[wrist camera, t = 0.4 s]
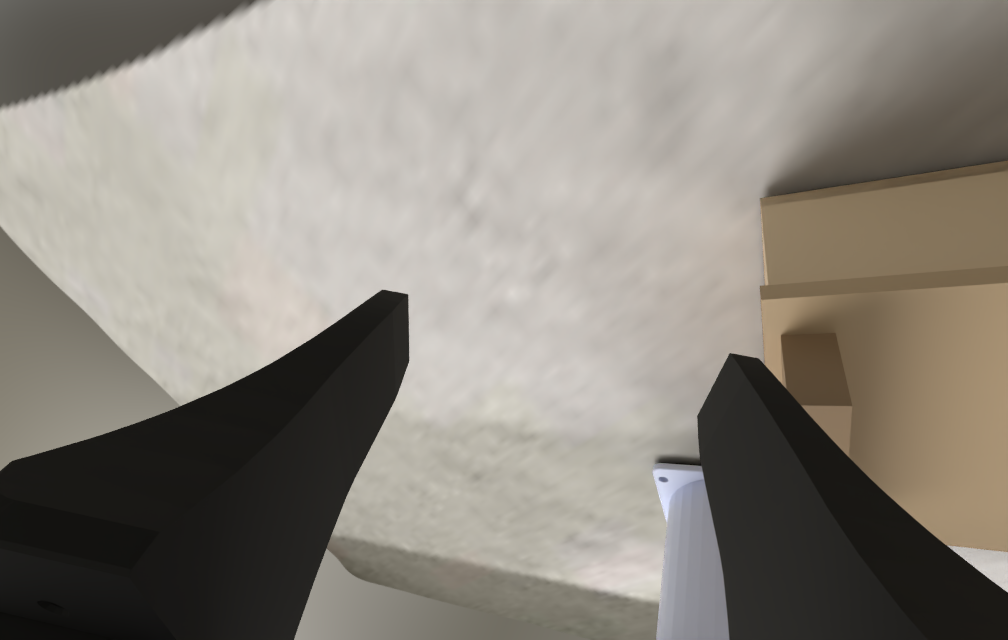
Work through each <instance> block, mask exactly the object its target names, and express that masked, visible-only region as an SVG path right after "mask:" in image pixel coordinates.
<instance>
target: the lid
mask: <svg viewBox="0 0 1008 640" xmlns="http://www.w3.org/2000/svg"><path fill="white" fill-rule="evenodd" d="M760 295H761V311H762V327H763V343H764V359H765V366H766V367H767V368H768V369H769V370H770V371H771V372H772V373H773V374H774V376H775V377H776V378H777V379H778V380H779V381H780V382H781V383H782V385H783V386H784V387H785V388H786V389H787V390H788V391H789V392H790V394H791V395H792V396H793V397H794V398H795V399H796V400H797V402H798V403H799V404H800V405H801V406H802V407H803V408H804V409H805V411H806V412H807V413H808V414H809V415H810V416H811V417H812V418H813V420H814V421H815V422H816V423H817V424H818V425H819V426H820V427H821V428H822V429H823V430H824V432H825V433H826V434H827V435H828V436H829V437H830V438H831V439H832V440H833V441H834V442H835V443H836V444H837V445H838V446H839V447H840V449H841V450H842V451H843V452H844V453H845V454H846V455H847V456H848V457H849V458H850V459H851V460H852V461H853V462H854V463H855V464H856V465H857V466H858V467H859V468H860V469H861V470H862V471H863V472H864V473H865V474H866V475H867V476H868V477H869V478H870V479H871V480H872V481H873V482H874V483H876V484H877V485H878V486H879V487H880V488H881V489H882V490H883V491H884V492H885V493H886V494H887V495H888V496H889V497H891V498H892V499H893V500H894V501H895V502H896V503H897V504H898V505H900V506H901V507H902V508H903V509H904V510H905V511H906V512H908V513H909V514H910V515H911V516H912V517H913V518H914V519H915V520H917V521H918V522H919V523H920V524H921V525H922V526H923V527H925V528H926V529H927V530H928V531H929V532H931V533H932V534H933V535H934V536H935V537H937V538H938V539H939V540H940V541H942V542H943V543H944V544H945V545H950V546H959V547H968V548H977V549H986V550H994V551H1003V552H1008V266H1000V267H987V268H975V269H962V270H950V271H938V272H925V273H913V274H901V275H888V276H876V277H864V278H851V279H839V280H827V281H814V282H802V283H789V284H777V285H765V286H760Z"/></svg>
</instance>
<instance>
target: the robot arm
mask: <svg viewBox="0 0 1008 640" xmlns="http://www.w3.org/2000/svg"><path fill="white" fill-rule="evenodd" d="M408 363H409V316H408V294H403V293H398V292H392V291H387V290H381V291H380V292H378V293H377V294H375V295H374V296H373V297H371V298H370V299H368V300H367V301H365V302H364V303H363V304H361V305H360V306H358V307H357V308H356V309H354V310H353V311H351V312H350V313H349V314H347V315H346V316H344V317H343V318H342V319H340V320H339V321H337V322H336V323H334V324H333V325H331V326H330V327H328V328H327V329H325V330H324V331H323V332H321V333H320V334H318V335H317V336H315V337H314V338H312V339H311V340H309V341H307V342H306V343H304V344H302V345H301V346H299V347H298V348H296V349H294V350H293V351H291V352H289V353H288V354H286V355H285V356H283V357H281V358H280V359H278V360H276V361H274V362H273V363H271V364H269V365H267V366H265V367H264V368H262V369H260V370H258V371H256V372H254V373H252V374H250V375H248V376H246V377H244V378H242V379H240V380H238V381H236V382H234V383H232V384H230V385H228V386H226V387H224V388H222V389H220V390H217V391H215V392H213V393H210V394H208V395H206V396H203V397H201V398H199V399H196V400H194V401H192V402H189V403H187V404H185V405H182V406H180V407H178V408H175V409H173V410H170V411H168V412H165V413H162V414H160V415H157V416H155V417H152V418H149V419H146V420H144V421H141V422H138V423H135V424H133V425H130V426H127V427H124V428H121V429H118V430H115V431H112V432H109V433H106V434H103V435H100V436H97V437H94V438H91V439H87V440H84V441H80V442H77V443H73V444H70V445H67V446H63V447H60V448H56V449H53V450H49V451H46V452H43V453H39V454H36V455H32V456H29V457H25V458H21V459H17V460H14V461H12V462H10V463H9V464H8V465H7V466H6V467H4V468H3V469H2V470H1V471H0V640H294V638H295V635H296V631H297V629H298V626H299V623H300V620H301V617H302V614H303V611H304V609H305V605H306V603H307V600H308V597H309V594H310V591H311V589H312V586H313V583H314V580H315V577H316V575H317V572H318V569H319V567H320V564H321V561H322V559H323V556H324V553H325V551H326V548H327V545H328V542H329V540H330V537H331V535H332V532H333V529H334V527H335V524H336V522H337V519H338V517H339V514H340V512H341V509H342V506H343V504H344V501H345V499H346V496H347V494H348V492H349V490H350V488H351V485H352V483H353V481H354V479H355V477H356V475H357V473H358V471H359V469H360V467H361V465H362V463H363V461H364V459H365V458H366V456H367V454H368V452H369V450H370V448H371V446H372V444H373V442H374V440H375V438H376V436H377V434H378V432H379V430H380V428H381V427H382V425H383V423H384V421H385V419H386V417H387V415H388V413H389V411H390V409H391V407H392V405H393V403H394V401H395V399H396V396H397V394H398V391H399V388H400V386H401V383H402V380H403V377H404V374H405V371H406V369H407V366H408ZM697 417H698V439H699V451H700V460H701V466H696V465H681V464H667V463H658V464H655V465H654V466H653V476H654V479H655V483H656V486H657V490H658V493H659V497H660V501H661V504H662V508H663V511H664V515H665V518H666V522H667V530H666V541H665V551H664V562H663V573H662V583H661V594H660V604H659V615H658V625H657V636H656V640H1008V593H1007V592H1006V591H1005V590H1003V589H1002V588H1001V587H999V586H998V585H997V584H995V583H994V582H992V581H991V580H990V579H988V578H987V577H986V576H985V575H983V574H982V573H981V572H979V571H978V570H977V569H976V568H974V567H973V566H972V565H971V564H969V563H968V562H967V561H965V560H964V559H963V558H962V557H960V556H959V555H958V554H957V553H955V552H954V551H953V550H951V549H950V548H949V547H948V546H946V545H945V544H944V543H943V542H942V541H940V540H939V539H938V538H937V537H935V536H934V535H933V534H932V533H931V532H929V531H928V530H927V529H926V528H925V527H923V526H922V525H921V524H920V523H919V522H918V521H917V520H915V519H914V518H913V517H912V516H911V515H910V514H909V513H908V512H906V511H905V510H904V509H903V508H902V507H901V506H900V505H898V504H897V503H896V502H895V501H894V500H893V499H892V498H891V497H889V496H888V495H887V494H886V493H885V492H884V491H883V490H882V489H881V488H880V487H879V486H878V485H877V484H876V483H874V482H873V481H872V480H871V479H870V478H869V477H868V476H867V475H866V474H865V473H864V472H863V471H862V470H861V469H860V468H859V467H858V466H857V465H856V464H855V463H854V462H853V461H852V460H851V459H850V458H849V457H848V456H847V455H846V454H845V453H844V452H843V451H842V450H841V449H840V447H839V446H838V445H837V444H836V443H835V442H834V441H833V440H832V439H831V438H830V437H829V436H828V435H827V434H826V433H825V432H824V430H823V429H822V428H821V427H820V426H819V425H818V424H817V423H816V422H815V421H814V420H813V418H812V417H811V416H810V415H809V414H808V413H807V412H806V411H805V409H804V408H803V407H802V406H801V405H800V404H799V403H798V402H797V400H796V399H795V398H794V397H793V396H792V395H791V394H790V392H789V391H788V390H787V389H786V388H785V387H784V386H783V385H782V383H781V382H780V381H779V380H778V379H777V378H776V377H775V376H774V374H773V373H772V372H771V371H770V370H769V369H768V368H767V367H766V366H765V365H764V364H763V363H762V362H761V361H760V360H759V359H758V358H753V357H748V356H742V355H737V354H731V353H730V354H729V356H728V358H727V360H726V362H725V364H724V366H723V368H722V369H721V371H720V373H719V375H718V377H717V379H716V381H715V383H714V385H713V387H712V389H711V391H710V393H709V395H708V397H707V399H706V400H705V402H704V404H703V406H702V408H701V410H700V412H699V414H698V416H697Z"/></svg>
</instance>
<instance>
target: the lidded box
mask: <svg viewBox="0 0 1008 640" xmlns="http://www.w3.org/2000/svg"><path fill="white" fill-rule="evenodd" d="M760 206H761V224H762V242H763V260H764V278H765V285H777V284H789V283H802V282H814V281H827V280H839V279H851V278H864V277H876V276H888V275H901V274H913V273H925V272H938V271H950V270H962V269H975V268H987V267H1000V266H1008V161H1002V162H995V163H989V164H982V165H975V166H969V167H962V168H956V169H949V170H943V171H936V172H930V173H923V174H916V175H910V176H903V177H897V178H890V179H884V180H877V181H870V182H864V183H857V184H851V185H844V186H838V187H831V188H825V189H818V190H811V191H805V192H798V193H792V194H785V195H779V196H772V197H766V198H760Z"/></svg>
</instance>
